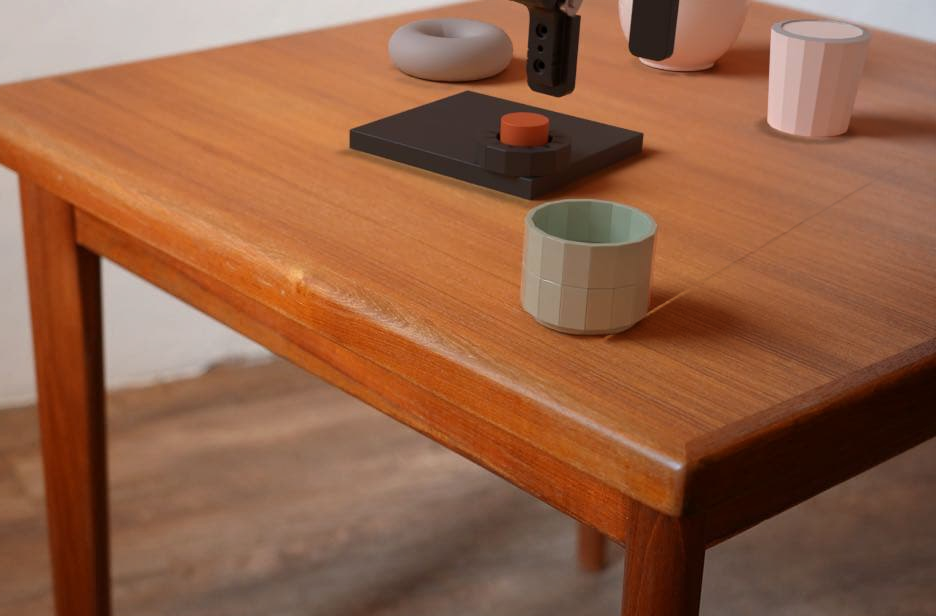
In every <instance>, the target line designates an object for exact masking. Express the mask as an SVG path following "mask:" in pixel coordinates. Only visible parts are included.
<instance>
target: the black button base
mask: <svg viewBox="0 0 936 616" xmlns="http://www.w3.org/2000/svg"><path fill="white" fill-rule="evenodd" d="M518 112H526V113H535V114H540V115H543V116H545V117H547V118H548V119H549V134H548V144H545V145H542V146H532V147H528V146H514V145H509V144H505V143H502V142H500V132H501V118H502V117H503V116H504V115H507V114H510V113H518ZM644 135H645V133H644V132H640V131H636V130H632V129H629V128H624V127H620V126H617V125H616V126H615V125H613V124H612V125H611V124H608V123H603V122H600V121H595V120H591V119H587V118H584V117H579V116H575V115H570V114H566V113H562V112H559V111H554V110H550V109H546V108H542V107H538V106H535V105H530V104H527V103H522V102H518V101H514V100H509V99H505V98H501V97H497V96H493V95H490V94H485V93H481V92H477V91H472V90H468V89H467V90H464V91H461V92H458V93H455V94H453V95H452V94H451V95H449V96H446V97H444V98H440V99H437V100H434V101H431V102H428V103H424V104H422V105H419V106H417V107H413V108H410V109H406V110H404V111H401V112H397V113H394V114H392V115H389V116H386V117H383V118H380V119H378V120H377V119H376V120H374V121H370V122H368V123H365V124H361V125H359V126H356V127H353V128H350V129H349V139H348V140H349V141H348V142H349V144H348V145H349V147H348V148H349V149H351V150H355V151H359V152H361V153H365V154H368V155H372V156H375V157H378V158H382V159H386V160H389V161H393V162H396V163H400V164H403V165H406V166H409V167H413V168H417V169H420V170H425V171H426V172H430V173H433V174H438V175H441V176H444V177H448V178H451V179H454V180H458V181H461V182H465V183H469V184H472V185H475V186H478V187H482V188H486V189H490V190H493V191H496V192H500V193H502V194H506V195H509V196H513V197H517V198H520V199H523V200H528V201H534V200H535V199H538V198H540V197H542V196H545V195H548V194H550V193H552V192H554V191H556V190H559V189H561V188H563V187H566V186H568V185H571V184H572V183H575V182H577V181H579V180H581V179H583V178H586V177H588V176H591V175H593V174H595V173H597V172H600V171H601V170H604V169H607V168H609V167H611V166H613V165H616V164H618V163H621V162H622V161H625V160H627V159H629V158H631V157H634V156H636V155H638V154H641V153H643V146H644V137H645V136H644Z"/></svg>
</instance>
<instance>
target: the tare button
mask: <svg viewBox="0 0 936 616" xmlns="http://www.w3.org/2000/svg"><path fill="white" fill-rule="evenodd" d="M548 134H549V119H548V118H547V117H545V116H543V115H540V114H535V113H526V112H518V113H510V114H507V115H504V116H503V117H502V118H501V132H500V142H502V143H505V144H509V145H514V146H528V147H532V146H542V145H545V144H548Z"/></svg>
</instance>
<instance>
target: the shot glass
mask: <svg viewBox="0 0 936 616" xmlns="http://www.w3.org/2000/svg"><path fill="white" fill-rule="evenodd" d="M872 38H873V32H871V31H870V30H869V29H867V28H865V27H863V26H860V25H857V24H852V23H848V22H841V21H837V20H827V19H819V18H818V19H817V18H813V19H812V18H798V19H785V20H781V21H778V22H774V23H773V24H772V25H771V27H770V45H769V46H770V49H769V69H768V70H769V72H768V73H769V74H768V94H767V97H768V98H767V119H766V120H767V121H766V123H767V124H768V125H769V126H770V127H771V128H773V129H775V130H777V131H779V132H783V133H786V134H787V133H788V134H790V135H795V136H803V137H813V138H814V137H815V138H827V137H835V136H840V135H842V134H845V133H847V132H848V129H849V126H850V121H851V118H852V114H853V110H854V106H855V102H856V99H857V95H858V91H859V87H860V83H861V79H862V76H863V71H864V68H865V64H866V60H867V56H868V54H869V53H868V52H869V48H870V44H871V41H872Z"/></svg>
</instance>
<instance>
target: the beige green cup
mask: <svg viewBox="0 0 936 616" xmlns="http://www.w3.org/2000/svg"><path fill="white" fill-rule="evenodd" d="M658 234H659V224H658V223H657V221H656V219H654V216H653V215H651V214H649V213H647V212H645V211H644V210H642V209H640V208H639V207H636V206H632V205H629V204H625V203H621V202H618V201H611V200H602V199H597V198H566V199H560V200H553V201H548V202H544V203H541V204H540V205H537V206H535V207H533V208H530V210H529V211H528V212H527V214H526V215H525V216H524V225H523V242H522V256H521V257H522V261H521V262H522V263H521V273H520V274H521V275H520V292H519V300H520V303H521V306H522V308H523V310H524V311H525V312H527V313H528V314H530V315H531V317H532V318H533V319H534V321H536V322H537V323H538V324H540V325H542V326H543V327H546V328H548V329H551V330H554V331H557V332H559V333H560V332H561V333H565V334H569V335H576V336H581V335H592V336H593V335H607V334H608V335H609V334H610V335H613V334H617V333H622V332H624V331H627V330H629V329H631V328H632V327H634V326H635V325H636V324H637V322H639V321H641V320H643V319H645V318H646V317H647V315H648V313H649V310H650V307H651V299H652V298H651V297H652V287H653V279H654V271H655V270H654V269H655V260H656V252H657V251H656V250H657V243H658Z"/></svg>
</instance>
